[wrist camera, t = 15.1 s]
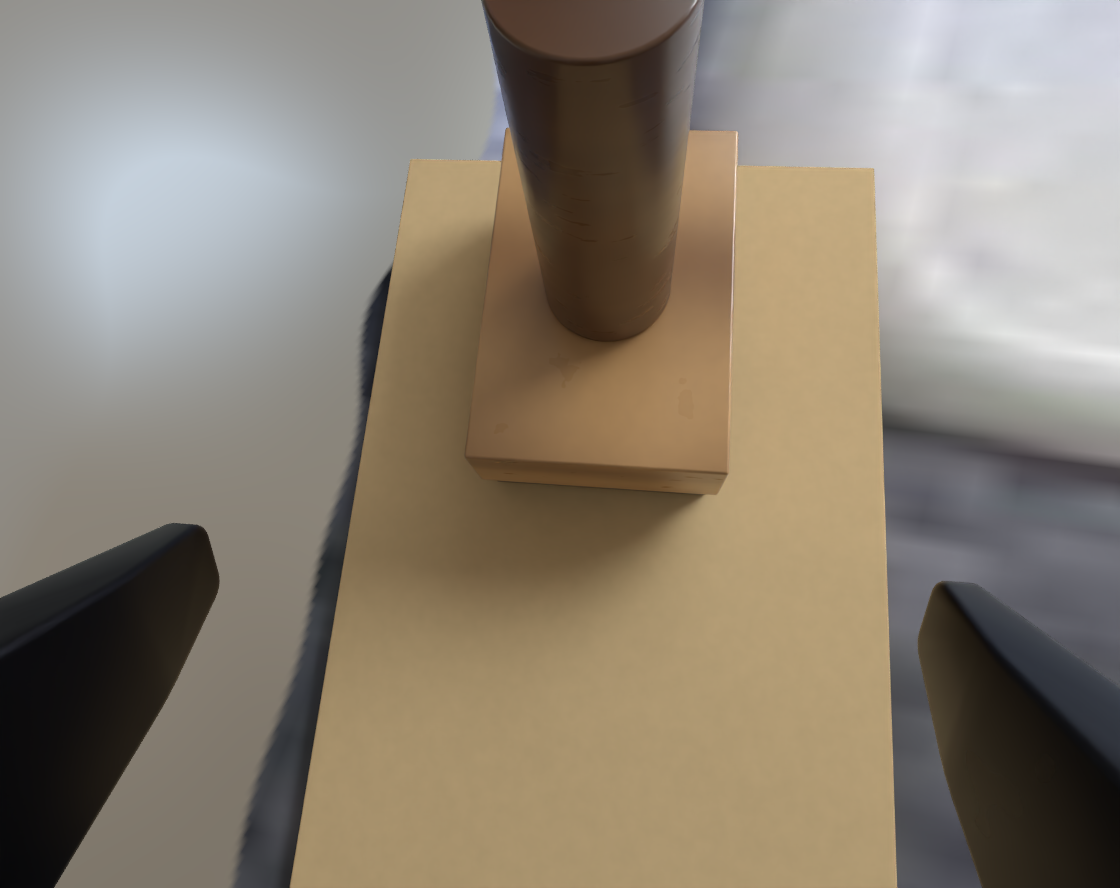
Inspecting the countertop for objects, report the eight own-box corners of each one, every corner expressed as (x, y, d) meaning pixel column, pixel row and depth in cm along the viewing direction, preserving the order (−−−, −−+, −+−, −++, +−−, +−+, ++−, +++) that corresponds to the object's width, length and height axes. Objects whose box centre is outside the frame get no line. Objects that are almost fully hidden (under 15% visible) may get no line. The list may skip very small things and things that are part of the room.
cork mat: (897, 1048, 16) (902, 1055, 16) (281, 961, 18) (275, 966, 17) (871, 174, 22) (874, 167, 22) (412, 164, 24) (410, 158, 23)
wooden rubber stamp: (713, 504, 19) (832, 286, 8) (487, 488, 20) (310, 267, 9) (722, 203, 22) (825, -282, 11) (521, 198, 23) (416, -264, 11)
